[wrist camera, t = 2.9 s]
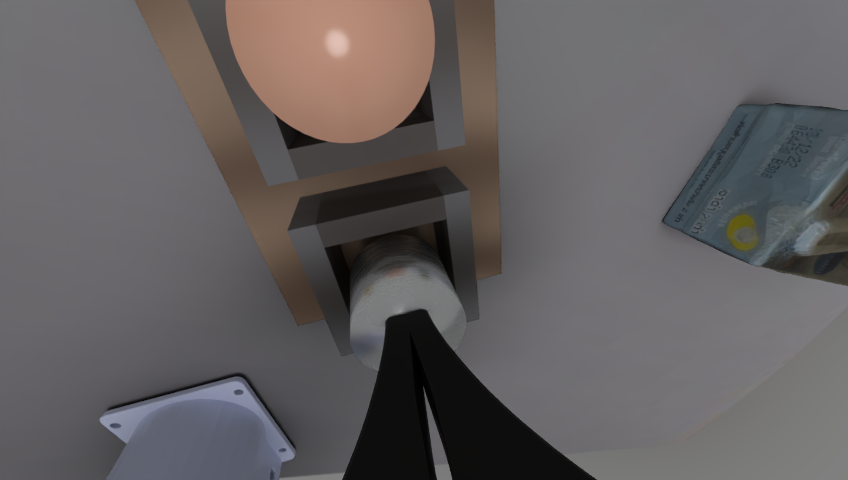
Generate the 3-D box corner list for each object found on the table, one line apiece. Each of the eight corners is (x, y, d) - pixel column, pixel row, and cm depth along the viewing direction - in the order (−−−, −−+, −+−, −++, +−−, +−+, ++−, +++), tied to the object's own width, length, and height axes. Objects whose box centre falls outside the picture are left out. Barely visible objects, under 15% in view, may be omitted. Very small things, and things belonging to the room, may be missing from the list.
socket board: (496, 266, 19) (528, 310, 16) (299, 316, 18) (288, 376, 14) (483, -99, 11) (544, -173, 8) (119, -53, 10) (-6, -117, 6)
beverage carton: (738, 92, 17) (930, 104, 11) (902, 167, 23) (1083, 200, 17) (653, 221, 20) (770, 281, 15) (815, 258, 26) (943, 311, 21)
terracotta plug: (417, 108, 10) (445, 124, 7) (297, 131, 10) (276, 159, 7) (394, -49, 8) (419, -112, 5) (243, -28, 8) (179, -82, 5)
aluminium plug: (446, 298, 15) (470, 356, 12) (363, 319, 14) (366, 386, 11) (435, 224, 13) (461, 273, 10) (338, 247, 12) (334, 305, 9)
